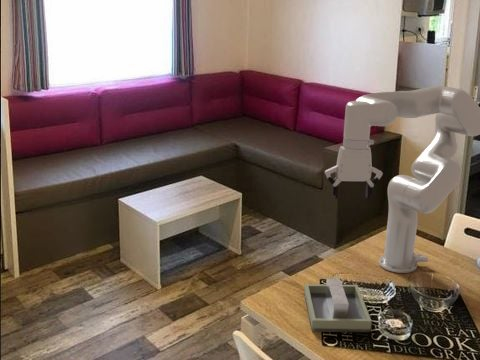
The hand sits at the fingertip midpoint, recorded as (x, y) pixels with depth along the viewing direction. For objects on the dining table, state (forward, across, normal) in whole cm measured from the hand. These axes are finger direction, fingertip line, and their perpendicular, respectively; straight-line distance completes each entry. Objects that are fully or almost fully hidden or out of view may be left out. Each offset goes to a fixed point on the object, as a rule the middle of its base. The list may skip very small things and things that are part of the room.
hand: (351, 197), depth 174 cm
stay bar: (+27, +6, +19) cm, 34 cm away
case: (+28, +6, +19) cm, 35 cm away
